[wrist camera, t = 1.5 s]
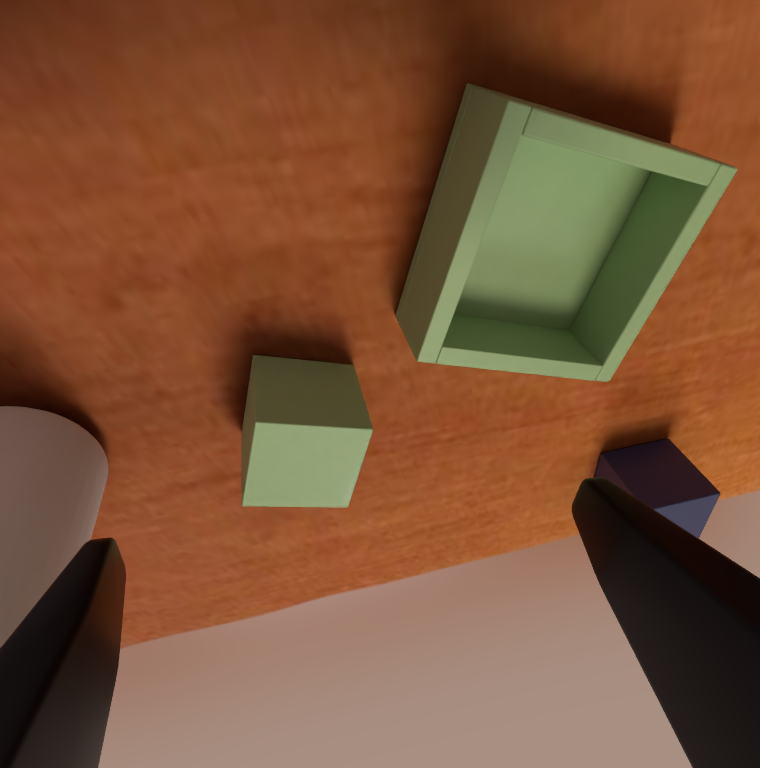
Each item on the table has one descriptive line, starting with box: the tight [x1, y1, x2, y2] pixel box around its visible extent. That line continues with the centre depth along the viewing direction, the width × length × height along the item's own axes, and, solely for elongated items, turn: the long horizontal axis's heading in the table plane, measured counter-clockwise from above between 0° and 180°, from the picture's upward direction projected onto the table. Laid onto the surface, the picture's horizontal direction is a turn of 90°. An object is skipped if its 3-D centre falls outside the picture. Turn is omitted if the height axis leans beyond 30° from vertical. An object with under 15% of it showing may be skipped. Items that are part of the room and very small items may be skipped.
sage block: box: [242, 355, 373, 507], centre depth 22 cm, size 4×4×4 cm
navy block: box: [595, 439, 720, 539], centre depth 31 cm, size 4×4×4 cm
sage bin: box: [395, 83, 737, 382], centre depth 20 cm, size 9×9×4 cm
